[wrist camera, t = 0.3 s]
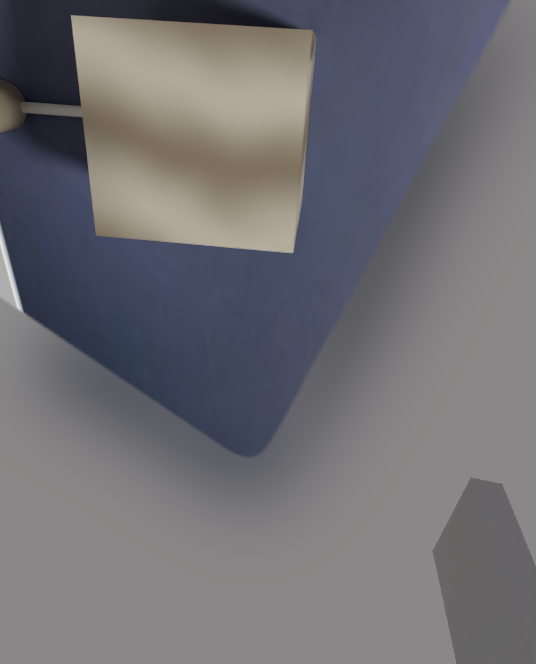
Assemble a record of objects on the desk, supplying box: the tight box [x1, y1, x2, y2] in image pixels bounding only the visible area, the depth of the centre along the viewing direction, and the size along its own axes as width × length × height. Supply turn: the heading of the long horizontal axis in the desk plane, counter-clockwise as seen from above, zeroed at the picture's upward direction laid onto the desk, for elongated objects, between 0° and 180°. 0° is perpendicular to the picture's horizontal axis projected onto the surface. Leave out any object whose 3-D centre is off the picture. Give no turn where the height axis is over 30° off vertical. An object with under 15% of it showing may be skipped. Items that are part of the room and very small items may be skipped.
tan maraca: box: [0, 79, 82, 133], centre depth 31 cm, size 6×21×6 cm, turn 87°
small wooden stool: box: [71, 15, 316, 253], centre depth 29 cm, size 10×11×10 cm
